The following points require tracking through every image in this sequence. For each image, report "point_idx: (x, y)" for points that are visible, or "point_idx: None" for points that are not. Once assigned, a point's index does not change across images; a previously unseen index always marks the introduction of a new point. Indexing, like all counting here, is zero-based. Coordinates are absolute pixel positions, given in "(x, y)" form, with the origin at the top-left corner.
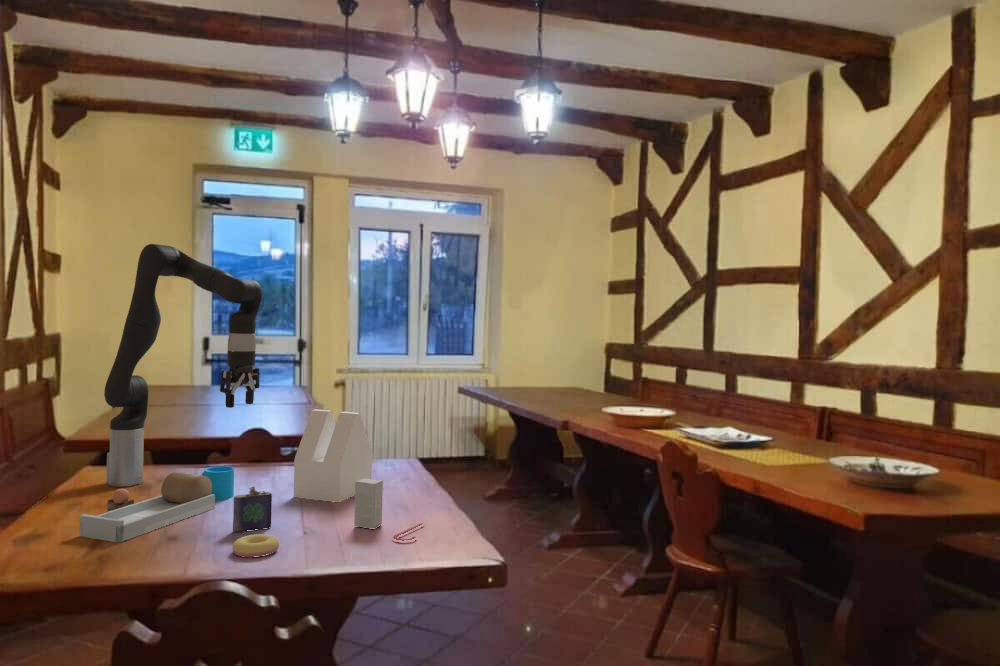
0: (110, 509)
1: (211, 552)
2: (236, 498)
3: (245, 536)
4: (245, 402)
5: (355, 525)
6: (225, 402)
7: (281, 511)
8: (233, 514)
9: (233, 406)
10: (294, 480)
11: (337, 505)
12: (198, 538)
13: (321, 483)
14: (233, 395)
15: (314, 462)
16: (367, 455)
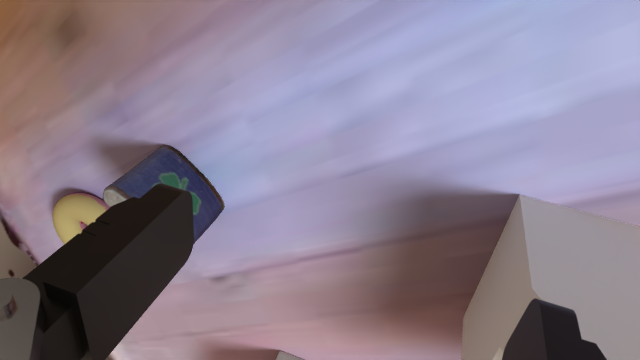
0: None
1: (58, 154)
2: (103, 197)
3: (81, 217)
4: (540, 302)
5: (277, 355)
6: (100, 215)
7: (349, 200)
8: (135, 166)
9: (181, 257)
10: (522, 231)
11: (438, 314)
12: (97, 91)
13: (483, 313)
14: (87, 354)
15: (494, 350)
16: None
